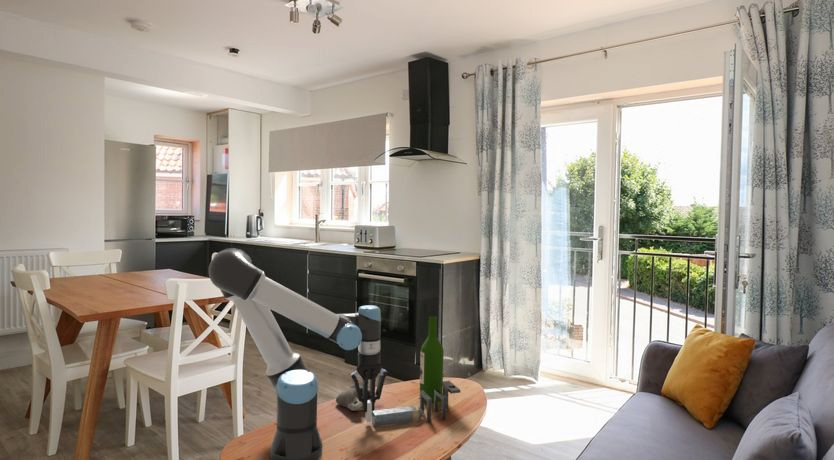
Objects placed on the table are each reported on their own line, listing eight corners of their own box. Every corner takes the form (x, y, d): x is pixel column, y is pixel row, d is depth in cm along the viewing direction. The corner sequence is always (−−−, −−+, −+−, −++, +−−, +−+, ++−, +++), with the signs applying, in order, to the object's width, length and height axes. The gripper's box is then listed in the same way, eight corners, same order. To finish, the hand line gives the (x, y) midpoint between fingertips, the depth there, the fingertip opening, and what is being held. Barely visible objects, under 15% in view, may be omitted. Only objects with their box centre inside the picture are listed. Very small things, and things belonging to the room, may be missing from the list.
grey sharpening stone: (375, 427, 163) (375, 415, 163) (371, 422, 167) (372, 410, 167) (424, 420, 170) (424, 409, 170) (420, 415, 174) (420, 404, 173)
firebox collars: (428, 422, 168) (428, 394, 167) (417, 410, 178) (418, 383, 177) (460, 418, 172) (461, 390, 172) (448, 407, 182) (449, 380, 182)
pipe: (342, 430, 178) (369, 418, 171) (325, 416, 176) (352, 403, 168) (356, 395, 192) (382, 382, 184) (340, 381, 189) (366, 367, 182)
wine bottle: (416, 396, 192) (418, 315, 191) (437, 394, 194) (439, 314, 193) (423, 405, 183) (425, 319, 182) (445, 402, 186) (447, 318, 185)
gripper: (352, 356, 158) (352, 427, 159) (390, 353, 163) (390, 422, 164) (348, 350, 165) (347, 418, 166) (384, 347, 170) (383, 413, 171)
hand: (368, 420), depth 165 cm, fingers closed
